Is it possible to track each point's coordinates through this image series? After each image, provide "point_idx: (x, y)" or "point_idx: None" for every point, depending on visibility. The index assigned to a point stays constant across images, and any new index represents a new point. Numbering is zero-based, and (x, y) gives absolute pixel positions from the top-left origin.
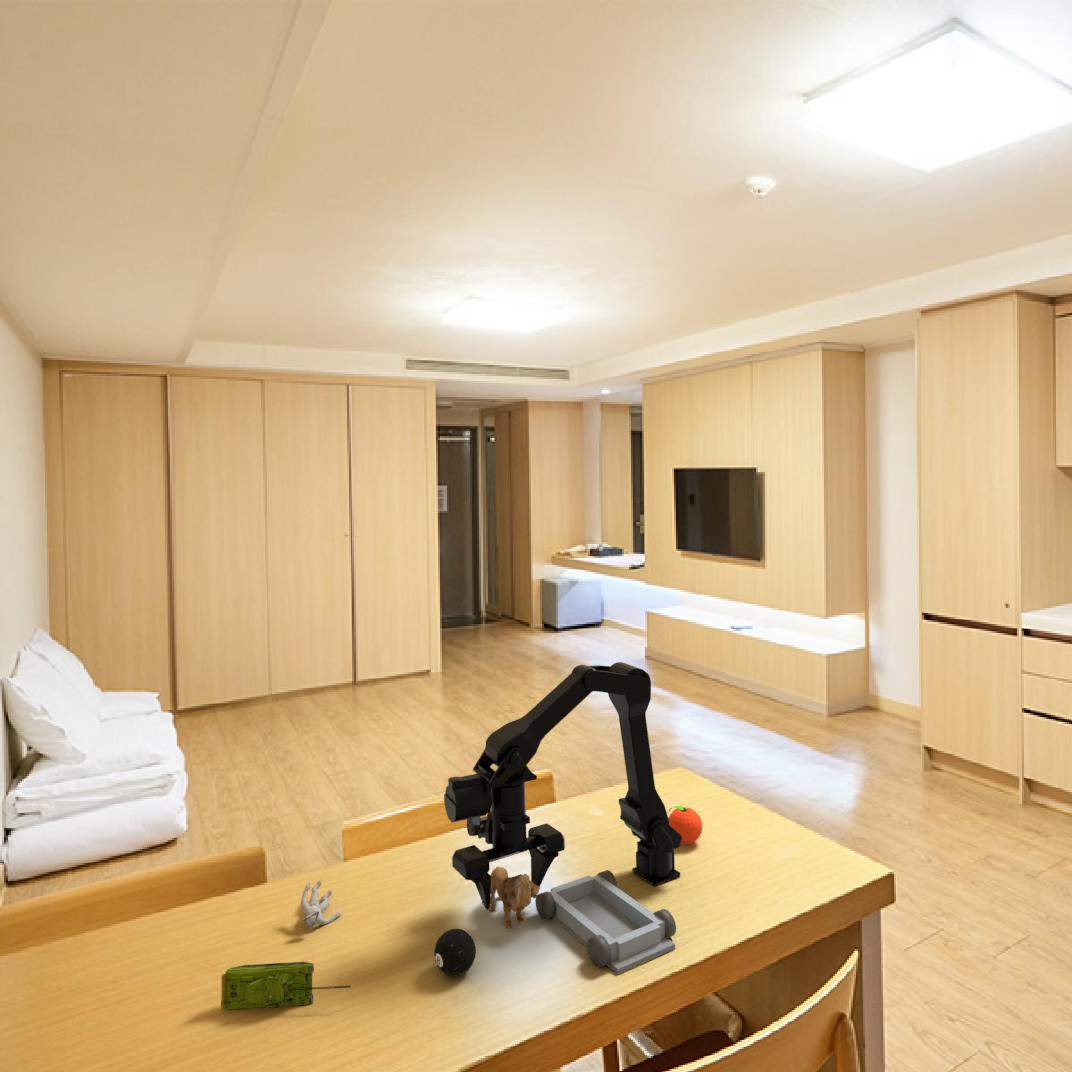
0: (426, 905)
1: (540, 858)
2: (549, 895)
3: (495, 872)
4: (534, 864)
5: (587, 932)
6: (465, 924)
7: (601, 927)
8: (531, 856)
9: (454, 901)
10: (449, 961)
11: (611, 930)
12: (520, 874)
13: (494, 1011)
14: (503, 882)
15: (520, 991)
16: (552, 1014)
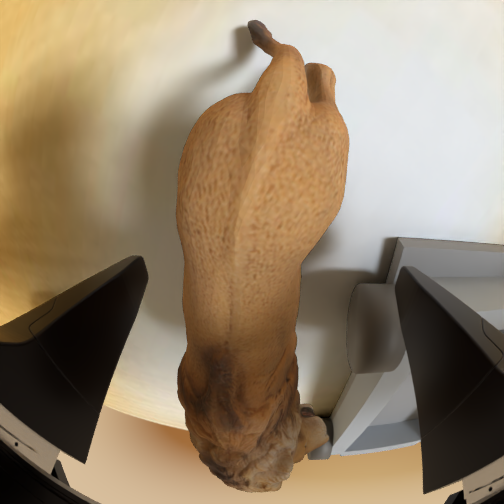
0: (48, 31)
1: (446, 463)
2: (385, 371)
3: (187, 234)
4: (458, 387)
5: (339, 428)
6: (107, 186)
7: (398, 392)
8: (499, 389)
9: (120, 22)
10: None
11: (400, 400)
12: (245, 487)
13: (134, 397)
14: (204, 351)
15: (176, 401)
16: None
